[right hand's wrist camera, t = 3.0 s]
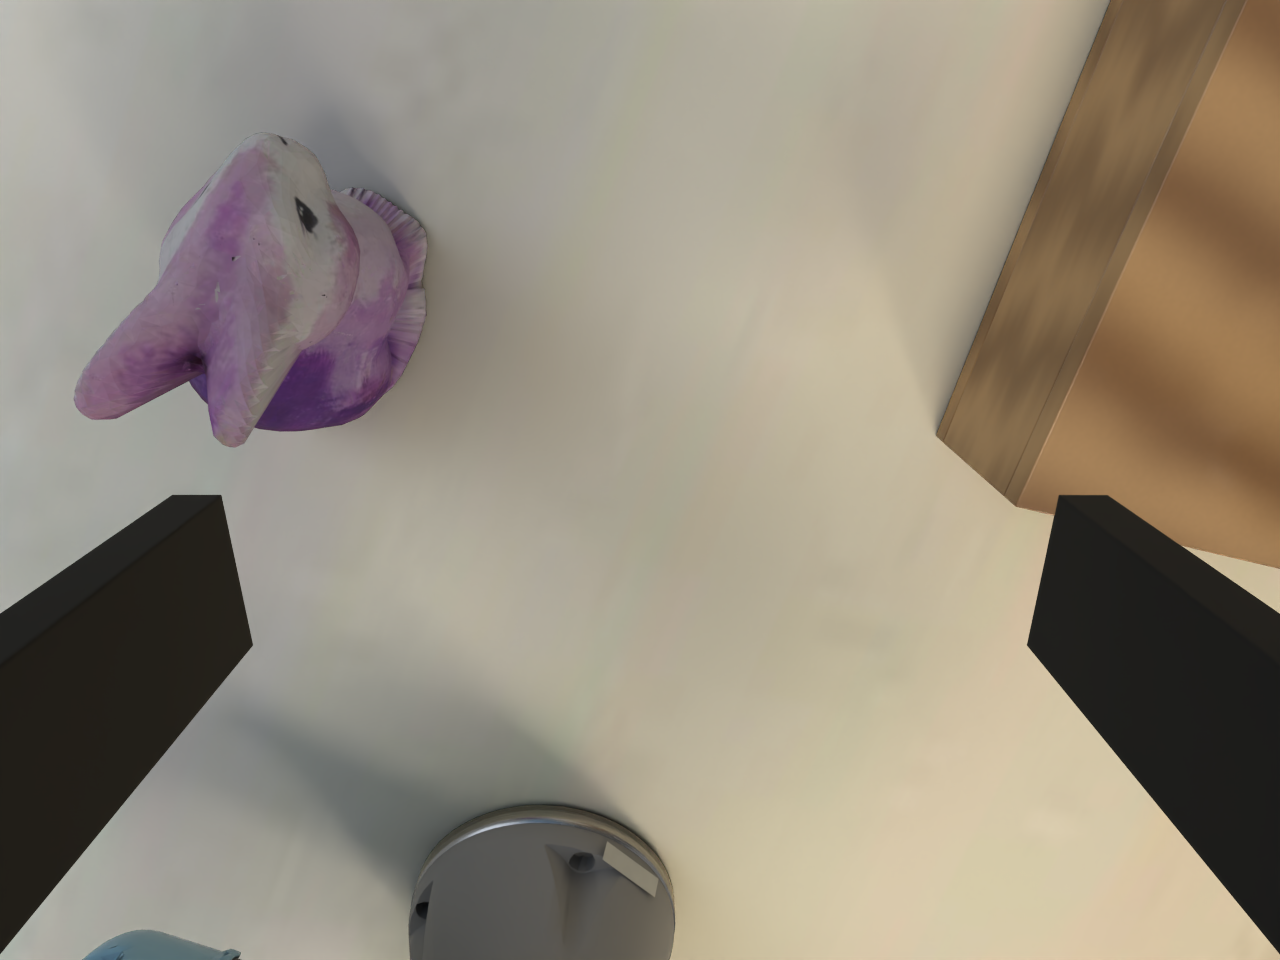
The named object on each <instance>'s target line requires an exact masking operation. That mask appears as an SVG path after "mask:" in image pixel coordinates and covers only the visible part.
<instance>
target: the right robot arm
mask: <svg viewBox="0 0 1280 960" xmlns="http://www.w3.org/2000/svg"><path fill="white" fill-rule="evenodd" d="M252 646H253V643H252V638H251V634H250V629H249V624H248V619H247V615H246V610H245V605H244V601H243V596H242V591H241V586H240V582H239V577H238V572H237V567H236V563H235V558H234V553H233V548H232V544H231V539H230V534H229V529H228V525H227V520H226V515H225V510H224V506H223V501H222V496H221V495H172V496H170V497H169V498H167V499H166V500H164V501H163V502H162V503H160V504H159V505H157V506H156V507H154V508H153V509H151V510H150V511H148V512H147V513H146V514H144V515H143V516H141V517H140V518H138V519H137V520H135V521H134V522H133V523H131V524H130V525H128V526H127V527H125V528H124V529H122V530H121V531H119V532H118V533H117V534H115V535H114V536H112V537H111V538H109V539H108V540H106V541H105V542H104V543H102V544H101V545H99V546H98V547H96V548H95V549H93V550H92V551H91V552H89V553H88V554H86V555H85V556H83V557H82V558H80V559H79V560H77V561H76V562H75V563H73V564H72V565H70V566H69V567H67V568H66V569H64V570H63V571H62V572H60V573H59V574H57V575H56V576H54V577H53V578H51V579H50V580H48V581H47V582H46V583H44V584H43V585H41V586H40V587H38V588H37V589H35V590H34V591H33V592H31V593H30V594H28V595H27V596H25V597H24V598H22V599H21V600H19V601H18V602H17V603H15V604H14V605H12V606H11V607H9V608H8V609H6V610H5V611H4V612H2V613H1V614H0V954H1V952H2V951H3V950H4V949H5V948H6V946H7V945H8V944H9V943H10V941H11V940H12V939H13V938H14V937H15V935H16V934H17V933H18V932H19V930H20V929H21V928H22V927H23V926H24V924H25V923H26V922H27V921H28V919H29V918H30V917H31V916H32V915H33V913H34V912H35V911H36V910H37V908H38V907H39V906H40V905H41V904H42V902H43V901H44V900H45V899H46V897H47V896H48V895H49V894H50V893H51V891H52V890H53V889H54V888H55V886H56V885H57V884H58V883H59V882H60V880H61V879H62V878H63V877H64V875H65V874H66V873H67V872H68V871H69V869H70V868H71V867H72V866H73V864H74V863H75V862H76V861H77V860H78V858H79V857H80V856H81V855H82V853H83V852H84V851H85V850H86V849H87V847H88V846H89V845H90V844H91V842H92V841H93V840H94V839H95V838H96V836H97V835H98V834H99V833H100V831H101V830H102V829H103V828H104V827H105V825H106V824H107V823H108V822H109V821H110V819H111V818H112V817H113V816H114V814H115V813H116V812H117V811H118V810H119V808H120V807H121V806H122V805H123V803H124V802H125V801H126V800H127V799H128V797H129V796H130V795H131V794H132V792H133V791H134V790H135V789H136V788H137V786H138V785H139V784H140V783H141V781H142V780H143V779H144V778H145V777H146V775H147V774H148V773H149V772H150V770H151V769H152V768H153V767H154V766H155V764H156V763H157V762H158V761H159V759H160V758H161V757H162V756H163V755H164V753H165V752H166V751H167V750H168V748H169V747H170V746H171V745H172V744H173V742H174V741H175V740H176V739H177V737H178V736H179V735H180V734H181V733H182V731H183V730H184V729H185V728H186V726H187V725H188V724H189V723H190V722H191V720H192V719H193V718H194V717H195V715H196V714H197V713H198V712H199V711H200V709H201V708H202V707H203V706H204V704H205V703H206V702H207V701H208V700H209V698H210V697H211V696H212V695H213V693H214V692H215V691H216V690H217V689H218V687H219V686H220V685H221V684H222V682H223V681H224V680H225V679H226V678H227V676H228V675H229V674H230V673H231V671H232V670H233V669H234V668H235V667H236V665H237V664H238V663H239V662H240V660H241V659H242V658H243V657H244V656H245V654H246V653H247V652H248V651H249V649H250V648H251V647H252ZM1027 646H1028V647H1029V648H1030V649H1031V651H1032V652H1033V653H1034V654H1035V656H1036V657H1037V658H1038V659H1039V660H1040V662H1041V663H1042V664H1043V665H1044V667H1045V668H1046V669H1047V670H1048V671H1049V673H1050V674H1051V675H1052V676H1053V678H1054V679H1055V680H1056V681H1057V682H1058V684H1059V685H1060V686H1061V687H1062V689H1063V690H1064V691H1065V692H1066V693H1067V695H1068V696H1069V697H1070V698H1071V700H1072V701H1073V702H1074V703H1075V704H1076V706H1077V707H1078V708H1079V709H1080V711H1081V712H1082V713H1083V714H1084V715H1085V717H1086V718H1087V719H1088V720H1089V722H1090V723H1091V724H1092V725H1093V726H1094V728H1095V729H1096V730H1097V731H1098V733H1099V734H1100V735H1101V736H1102V737H1103V739H1104V740H1105V741H1106V742H1107V744H1108V745H1109V746H1110V747H1111V748H1112V750H1113V751H1114V752H1115V753H1116V755H1117V756H1118V757H1119V758H1120V759H1121V761H1122V762H1123V763H1124V764H1125V766H1126V767H1127V768H1128V769H1129V770H1130V772H1131V773H1132V774H1133V775H1134V777H1135V778H1136V779H1137V780H1138V781H1139V783H1140V784H1141V785H1142V786H1143V788H1144V789H1145V790H1146V791H1147V792H1148V794H1149V795H1150V796H1151V797H1152V799H1153V800H1154V801H1155V802H1156V803H1157V805H1158V806H1159V807H1160V808H1161V810H1162V811H1163V812H1164V813H1165V814H1166V816H1167V817H1168V818H1169V819H1170V821H1171V822H1172V823H1173V824H1174V825H1175V827H1176V828H1177V829H1178V830H1179V831H1180V833H1181V834H1182V835H1183V836H1184V838H1185V839H1186V840H1187V841H1188V842H1189V844H1190V845H1191V846H1192V847H1193V849H1194V850H1195V851H1196V852H1197V853H1198V855H1199V856H1200V857H1201V858H1202V860H1203V861H1204V862H1205V863H1206V864H1207V866H1208V867H1209V868H1210V869H1211V871H1212V872H1213V873H1214V874H1215V875H1216V877H1217V878H1218V879H1219V880H1220V882H1221V883H1222V884H1223V885H1224V886H1225V888H1226V889H1227V890H1228V891H1229V893H1230V894H1231V895H1232V896H1233V897H1234V899H1235V900H1236V901H1237V902H1238V904H1239V905H1240V906H1241V907H1242V908H1243V910H1244V911H1245V912H1246V913H1247V915H1248V916H1249V917H1250V918H1251V919H1252V921H1253V922H1254V923H1255V924H1256V926H1257V927H1258V928H1259V929H1260V930H1261V932H1262V933H1263V934H1264V935H1265V937H1266V938H1267V939H1268V940H1269V941H1270V943H1271V944H1272V945H1273V946H1274V948H1275V949H1276V950H1277V951H1278V952H1279V954H1280V614H1279V613H1278V612H1276V611H1275V610H1274V609H1272V608H1271V607H1269V606H1268V605H1266V604H1265V603H1263V602H1262V601H1261V600H1259V599H1258V598H1256V597H1255V596H1253V595H1252V594H1250V593H1249V592H1247V591H1246V590H1245V589H1243V588H1242V587H1240V586H1239V585H1237V584H1236V583H1234V582H1233V581H1232V580H1230V579H1229V578H1227V577H1226V576H1224V575H1223V574H1221V573H1220V572H1218V571H1217V570H1216V569H1214V568H1213V567H1211V566H1210V565H1208V564H1207V563H1205V562H1204V561H1203V560H1201V559H1200V558H1198V557H1197V556H1195V555H1194V554H1192V553H1191V552H1189V551H1188V550H1187V549H1185V548H1184V547H1182V546H1181V545H1179V544H1178V543H1176V542H1175V541H1174V540H1172V539H1171V538H1169V537H1168V536H1166V535H1165V534H1163V533H1162V532H1161V531H1159V530H1158V529H1156V528H1155V527H1153V526H1152V525H1150V524H1149V523H1147V522H1146V521H1145V520H1143V519H1142V518H1140V517H1139V516H1137V515H1136V514H1134V513H1133V512H1132V511H1130V510H1129V509H1127V508H1126V507H1124V506H1123V505H1121V504H1120V503H1118V502H1117V501H1116V500H1114V499H1113V498H1111V497H1110V496H1108V495H1059V496H1058V501H1057V506H1056V510H1055V515H1054V520H1053V525H1052V529H1051V534H1050V539H1049V544H1048V548H1047V553H1046V558H1045V563H1044V567H1043V572H1042V577H1041V582H1040V586H1039V591H1038V596H1037V601H1036V605H1035V610H1034V615H1033V619H1032V624H1031V629H1030V634H1029V638H1028V643H1027ZM674 931H675V910H674V894H673V888H672V885H671V881H670V878H669V876H668V874H667V871H666V869H665V867H664V866H663V864H662V863H661V861H660V859H659V858H658V857H657V855H656V854H655V853H654V852H653V851H652V849H651V848H650V847H649V846H648V845H647V844H646V843H645V842H643V841H642V840H641V839H640V838H639V837H637V836H636V835H635V834H633V833H632V832H631V831H629V830H628V829H626V828H624V827H623V826H621V825H619V824H617V823H615V822H613V821H611V820H609V819H607V818H605V817H602V816H599V815H596V814H594V813H590V812H587V811H583V810H579V809H574V808H569V807H562V806H553V805H526V806H517V807H511V808H506V809H501V810H497V811H493V812H490V813H487V814H484V815H482V816H479V817H476V818H474V819H472V820H470V821H468V822H466V823H464V824H463V825H461V826H459V827H458V828H456V829H455V830H453V831H452V832H451V833H449V834H448V835H447V836H446V837H445V838H443V839H442V840H441V841H440V842H439V843H438V844H437V846H436V847H435V848H434V849H433V850H432V851H431V853H430V855H429V856H428V858H427V859H426V861H425V863H424V865H423V867H422V869H421V872H420V875H419V878H418V881H417V884H416V888H415V891H414V894H413V898H412V903H411V910H410V917H409V947H410V960H669V959H670V956H671V952H672V947H673V940H674ZM240 955H241V952H239V951H236V950H234V949H229V950H226V951H223V952H222V951H219V950H216V949H213V948H210V947H207V946H203V945H200V944H197V943H194V942H191V941H188V940H185V939H182V938H178V937H175V936H172V935H169V934H166V933H163V932H160V931H154V930H136V931H131V932H127V933H124V934H121V935H119V936H116V937H114V938H112V939H110V940H108V941H107V942H105V943H103V944H102V945H100V946H99V947H98V948H96V949H95V950H94V951H92V952H91V953H90V954H89V955H87V956H86V957H85V958H84V959H83V960H240V959H238V958H239V957H240Z"/></svg>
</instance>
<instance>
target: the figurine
mask: <svg viewBox="0 0 1280 960" xmlns="http://www.w3.org/2000/svg"><path fill="white" fill-rule="evenodd" d="M427 248H428V244H427V236H426V233H425V230H424V229H423V228H422V227H421V226H420V225H419V222H418V221H416V220H415V219H414V218H413V217H411V216H409V215H408V214H404V212H403V210H398V208H397V206H393V205H392V203H391V202H387V200H386V198H382V197H381V196H380V195H379V194H376V193H374V192H373V191H371V190H367V191H366V190H365V189H364V188H357V189H356V188H348V189H345V190H343V191H341V192H338V191H334V190H330V188H329V185H328V182H327V179H326V176H325V173H324V171H323V169H322V167H321V165H320V163H319V161H318V159H317V158H316V156H315V155H314V154H313V153H312V152H311V151H310V150H308V149H307V148H306V147H304V146H303V145H301V144H299V143H298V142H296V141H294V140H293V139H289V138H284V137H280V136H278V135H275V134H271V133H264V132H262V133H257V134H254V135H252V136H250V137H249V138H247V139H245V140H244V141H243V142H242V143H241V144H240V145H239V146H238V147H237V148H236V149H235V150H234V151H233V152H232V153H231V154H230V155H229V156H228V158H227V159H226V160H225V162H224V163H223V164H222V166H221V167H220V168H219V169H218V170H217V171H216V172H215V173H214V175H213V176H212V177H211V178H210V179H209V180H208V181H207V183H206V184H205V185H204V186H203V187H202V188H201V189H200V190H199V191H198V192H197V193H196V194H195V195H194V196H193V197H192V198H191V199H190V200H189V201H188V202H187V204H186V205H185V206H184V207H183V208H182V209H181V211H180V212H179V214H178V215H177V216H176V218H175V219H174V221H173V222H172V224H171V226H170V228H169V230H168V232H167V234H166V235H165V237H164V239H163V242H162V245H161V252H160V258H159V265H160V273H159V280H158V282H157V285H156V287H155V288H154V289H153V290H152V291H151V292H150V293H149V294H148V295H147V296H146V297H145V299H144V301H143V302H141V303H140V304H139V305H137V307H136V308H135V309H134V310H133V311H132V312H131V313H130V314H129V315H128V316H127V317H126V318H125V319H124V320H123V321H122V322H121V324H120V325H119V327H118V328H116V329H115V330H114V331H113V333H112V334H111V335H110V336H109V337H108V339H107V340H106V342H105V343H104V344H103V345H102V346H101V347H100V348H99V349H98V351H97V352H96V354H95V355H94V356H93V358H92V359H91V360H90V362H89V363H88V364H87V366H86V367H85V368H84V370H83V373H82V375H81V376H80V378H79V380H78V382H77V385H76V389H75V396H74V402H75V404H76V407H77V408H78V410H79V411H80V412H81V413H82V414H83V415H85V416H86V417H88V418H90V419H94V420H98V419H116V418H118V417H120V416H122V415H124V414H126V413H128V412H130V411H132V410H134V409H136V408H138V407H139V406H141V405H143V404H145V403H147V402H149V401H151V400H153V399H155V398H157V397H159V396H161V395H162V394H164V393H166V392H168V391H170V390H172V389H174V388H176V387H178V386H180V385H182V384H184V383H185V382H187V381H189V382H190V384H191V386H192V387H193V388H194V389H195V391H196V392H197V393H198V394H199V396H200V397H201V398H202V399H203V400H204V401H205V402H206V403H207V404H208V410H209V415H210V420H211V425H212V430H213V435H214V437H215V438H217V439H218V440H219V441H220V442H221V443H222V444H223V445H226V446H228V447H237V446H239V445H241V444H243V443H245V441H246V440H247V438H248V436H249V435H250V433H251V432H252V430H253V428H258V429H264V430H272V431H304V430H312V429H319V428H324V427H331V426H338V425H343V424H345V423H347V422H350V421H352V420H355V419H357V418H359V417H361V416H362V415H364V414H365V413H366V412H367V411H368V410H369V409H370V408H371V407H372V406H373V405H374V404H375V403H376V402H377V401H378V400H379V399H380V398H381V397H382V395H384V394H385V393H386V392H387V391H389V390H390V389H391V388H392V387H393V386H394V385H395V383H396V382H397V380H398V379H399V378H400V377H401V375H402V373H403V371H404V369H405V367H406V365H407V363H408V361H409V359H410V357H411V355H412V353H413V351H414V349H415V347H416V345H417V343H418V340H419V337H420V335H421V332H422V327H423V324H424V321H425V317H426V299H425V289H423V286H422V282H421V279H422V277H423V270H424V265H425V260H426V255H427Z"/></svg>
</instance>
